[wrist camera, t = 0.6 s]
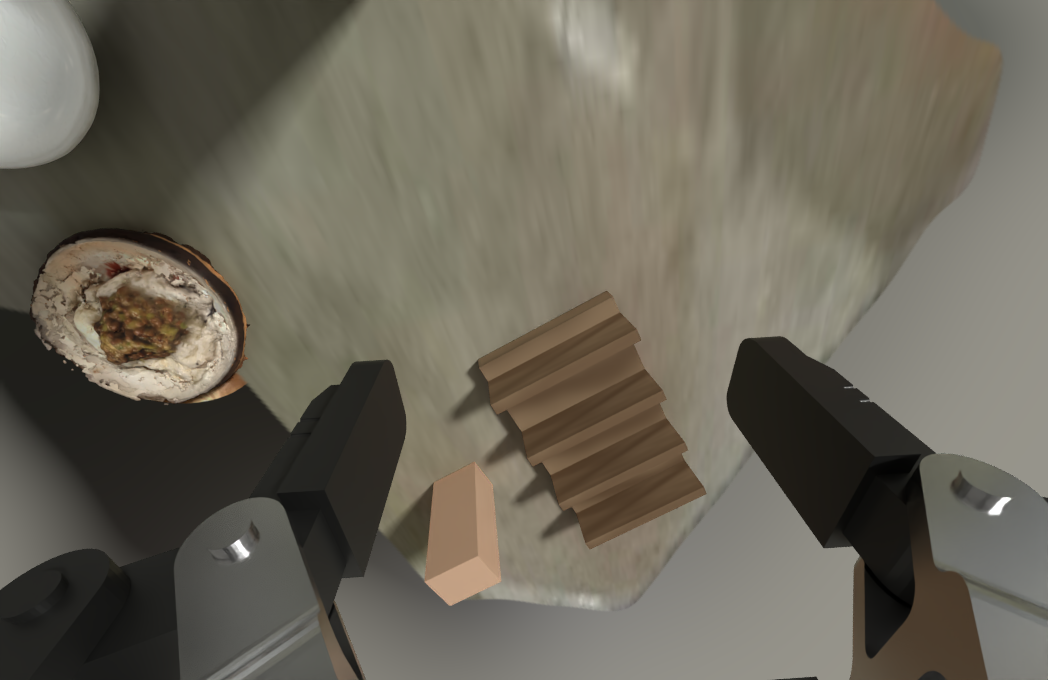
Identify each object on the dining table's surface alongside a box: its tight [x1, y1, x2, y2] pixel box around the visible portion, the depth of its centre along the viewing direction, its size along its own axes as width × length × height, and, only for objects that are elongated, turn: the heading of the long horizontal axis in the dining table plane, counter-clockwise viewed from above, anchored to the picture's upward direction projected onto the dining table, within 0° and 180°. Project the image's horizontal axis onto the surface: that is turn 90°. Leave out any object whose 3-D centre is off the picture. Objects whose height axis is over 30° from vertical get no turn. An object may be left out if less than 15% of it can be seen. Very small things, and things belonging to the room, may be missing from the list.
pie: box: [30, 229, 250, 405], centre depth 28 cm, size 15×15×4 cm
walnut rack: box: [478, 291, 707, 549], centre depth 36 cm, size 22×12×5 cm, turn 28°
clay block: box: [425, 462, 501, 606], centre depth 35 cm, size 4×4×10 cm
